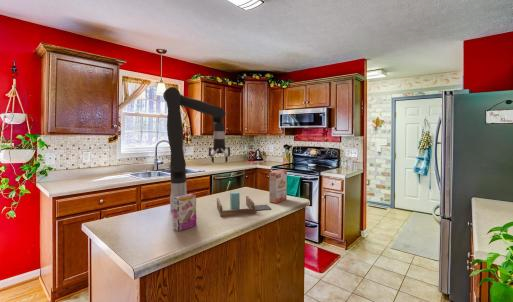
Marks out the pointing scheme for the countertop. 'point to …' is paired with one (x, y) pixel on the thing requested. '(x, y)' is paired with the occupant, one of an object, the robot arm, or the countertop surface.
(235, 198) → the teal block
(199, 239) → the countertop surface
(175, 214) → the candy bar box
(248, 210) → the lane
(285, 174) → the cracker box
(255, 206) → the pad
